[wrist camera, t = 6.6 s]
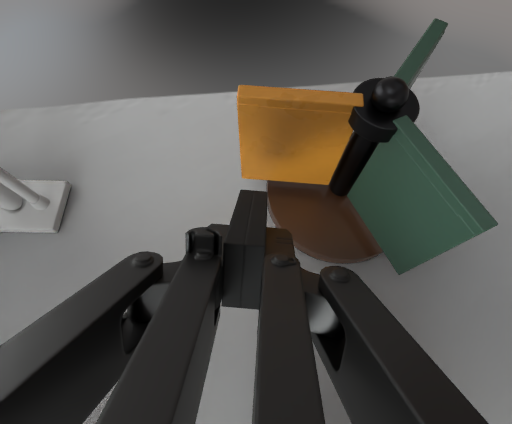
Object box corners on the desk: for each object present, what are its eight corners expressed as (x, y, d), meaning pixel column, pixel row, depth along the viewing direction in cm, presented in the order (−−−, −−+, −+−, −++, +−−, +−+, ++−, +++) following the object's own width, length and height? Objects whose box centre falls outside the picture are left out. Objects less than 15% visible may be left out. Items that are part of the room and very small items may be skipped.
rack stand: (429, 250, 25) (437, 245, 24) (282, 275, 24) (283, 272, 23) (379, 130, 30) (384, 122, 28) (255, 148, 29) (255, 140, 28)
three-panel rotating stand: (449, 267, 23) (603, 203, 13) (263, 301, 22) (272, 260, 12) (385, 119, 28) (457, -6, 18) (234, 141, 27) (223, 19, 17)
